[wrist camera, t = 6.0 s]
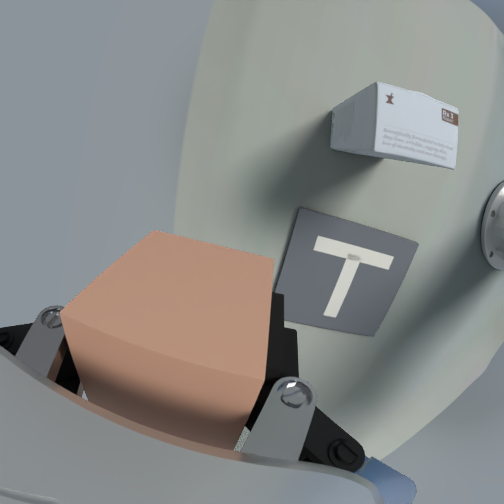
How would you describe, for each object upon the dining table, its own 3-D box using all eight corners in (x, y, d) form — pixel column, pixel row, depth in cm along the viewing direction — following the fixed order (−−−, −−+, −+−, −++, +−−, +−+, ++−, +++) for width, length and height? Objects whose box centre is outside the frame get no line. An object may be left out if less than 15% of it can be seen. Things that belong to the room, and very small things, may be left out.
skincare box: (329, 150, 24) (367, 157, 13) (331, 105, 22) (371, 78, 11) (387, 159, 23) (456, 177, 12) (391, 116, 21) (461, 107, 10)
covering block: (274, 258, 11) (264, 380, 5) (247, 349, 13) (228, 460, 7) (153, 229, 11) (59, 312, 5) (150, 323, 13) (95, 415, 7)
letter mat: (416, 242, 26) (418, 244, 26) (372, 333, 31) (373, 336, 31) (299, 206, 26) (299, 208, 26) (267, 313, 31) (267, 316, 31)
